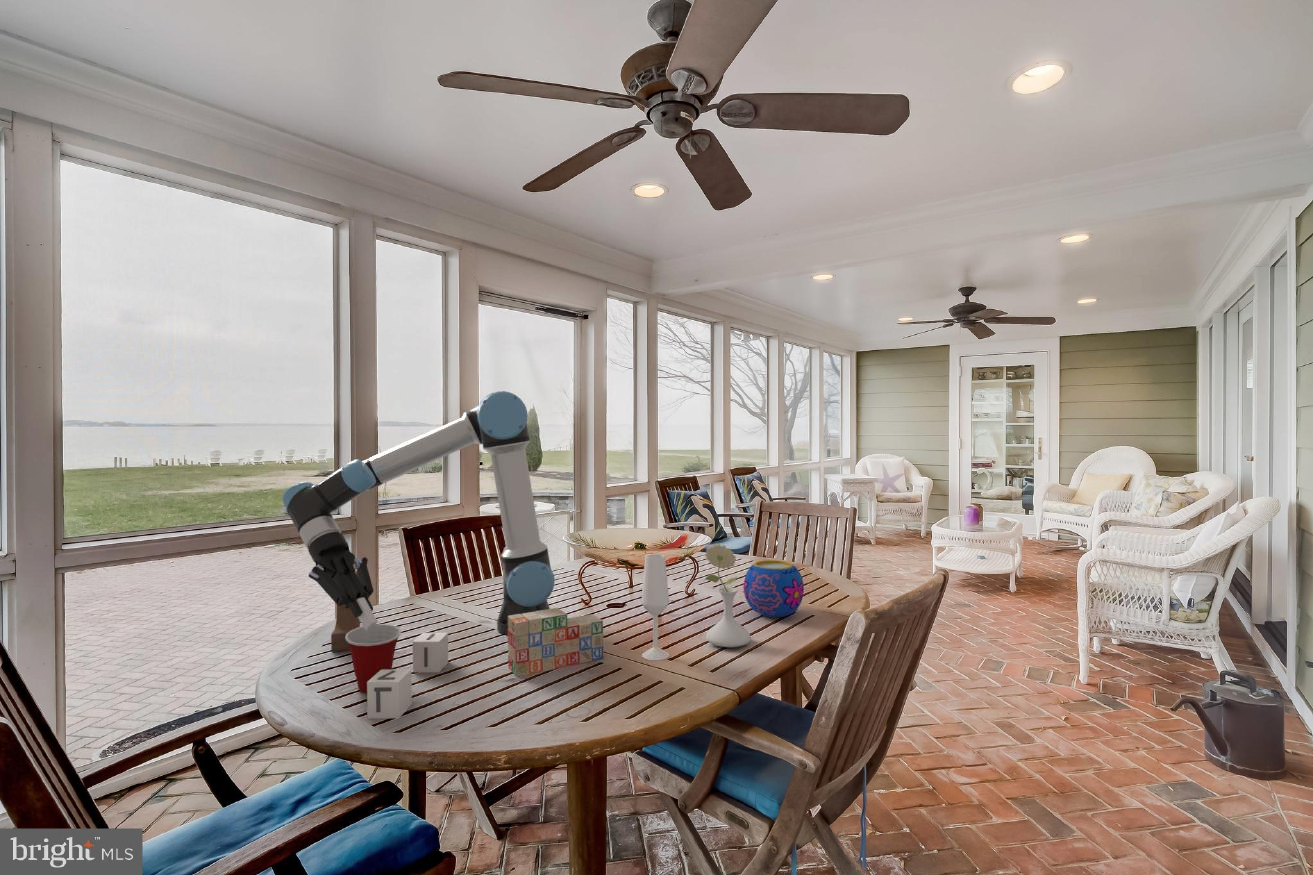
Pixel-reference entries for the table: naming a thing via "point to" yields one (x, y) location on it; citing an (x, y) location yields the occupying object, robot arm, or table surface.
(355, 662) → the plastic cup
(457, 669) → the table surface
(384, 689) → the marked block 7
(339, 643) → the wooden block
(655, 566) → the champagne flute
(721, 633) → the flower in vase
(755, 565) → the ceramic pot
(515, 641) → the stack of blocks
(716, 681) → the table surface
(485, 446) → the robot arm
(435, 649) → the marked block 1
